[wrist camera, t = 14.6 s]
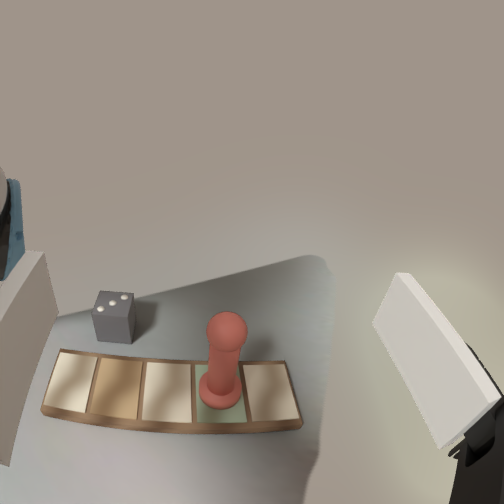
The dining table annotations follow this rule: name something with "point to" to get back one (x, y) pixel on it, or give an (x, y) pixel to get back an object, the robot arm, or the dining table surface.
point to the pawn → (223, 361)
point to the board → (166, 395)
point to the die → (114, 317)
